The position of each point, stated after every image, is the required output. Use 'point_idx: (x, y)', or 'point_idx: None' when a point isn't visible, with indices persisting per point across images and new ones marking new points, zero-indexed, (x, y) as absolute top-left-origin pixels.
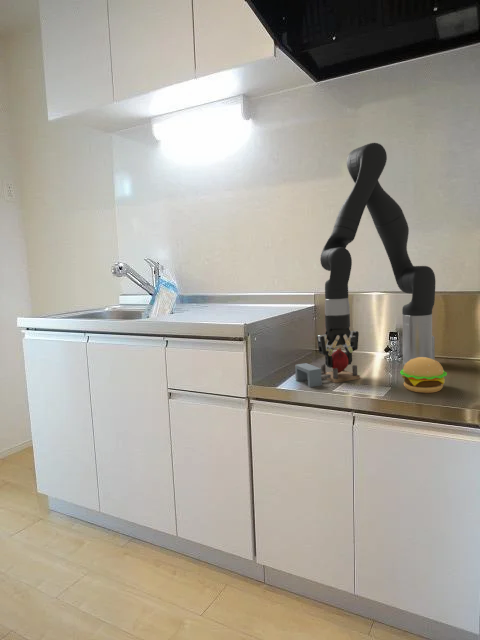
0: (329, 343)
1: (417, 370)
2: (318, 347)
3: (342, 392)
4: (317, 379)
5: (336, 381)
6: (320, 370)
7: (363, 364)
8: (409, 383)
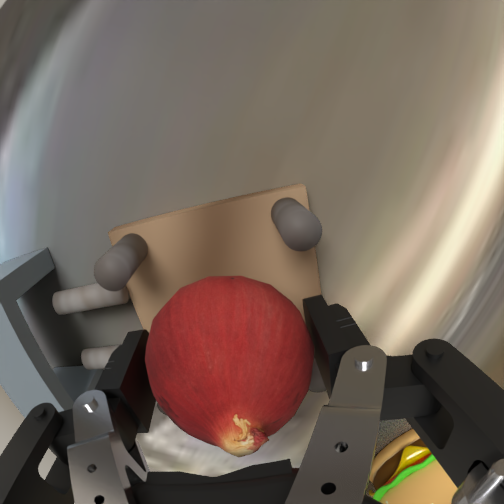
0: (106, 484)
1: None
2: (10, 444)
3: (174, 457)
4: None
5: None
6: None
7: (471, 63)
8: (373, 482)
